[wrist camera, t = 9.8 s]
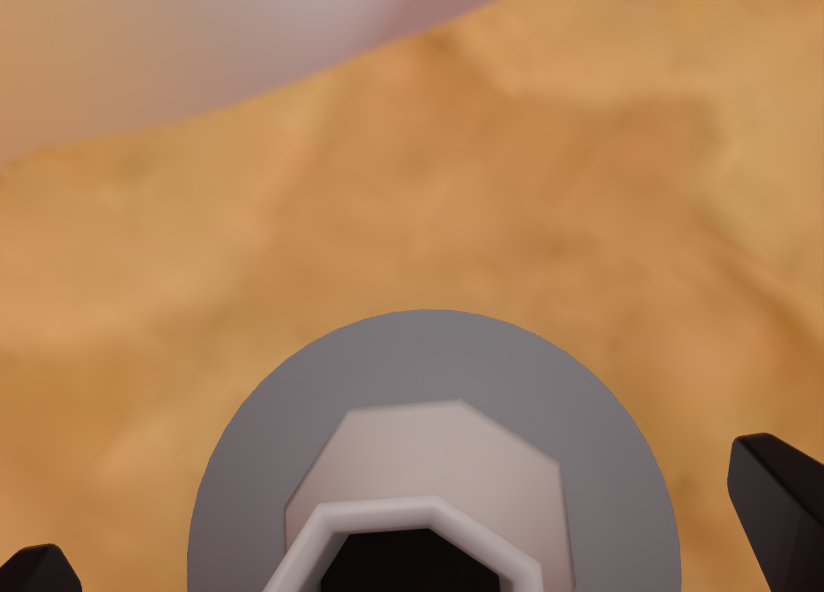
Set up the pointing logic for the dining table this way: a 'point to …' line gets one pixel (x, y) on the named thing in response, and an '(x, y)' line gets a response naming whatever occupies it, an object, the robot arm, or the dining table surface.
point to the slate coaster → (431, 381)
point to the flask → (427, 507)
